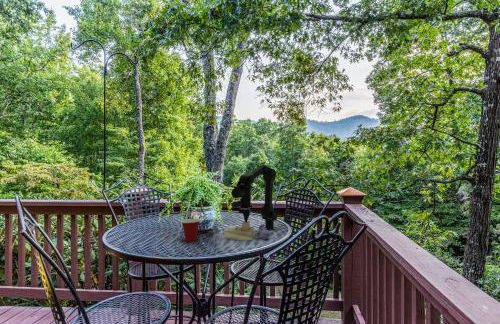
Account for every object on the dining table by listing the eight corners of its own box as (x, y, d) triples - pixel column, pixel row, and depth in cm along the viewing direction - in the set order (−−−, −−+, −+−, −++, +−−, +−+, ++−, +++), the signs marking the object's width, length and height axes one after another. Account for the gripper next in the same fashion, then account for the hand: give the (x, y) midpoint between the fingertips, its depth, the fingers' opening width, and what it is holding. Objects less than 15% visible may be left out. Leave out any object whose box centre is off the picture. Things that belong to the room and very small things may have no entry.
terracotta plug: (243, 229, 188) (243, 221, 188) (249, 230, 188) (249, 221, 188) (242, 231, 184) (242, 223, 184) (248, 231, 184) (248, 223, 184)
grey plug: (229, 234, 190) (229, 226, 189) (236, 234, 189) (236, 226, 189) (228, 236, 186) (228, 227, 185) (235, 236, 185) (235, 227, 185)
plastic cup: (191, 236, 188) (191, 216, 187) (203, 240, 181) (203, 219, 180) (176, 240, 179) (176, 219, 179) (189, 244, 172) (189, 222, 172)
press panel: (227, 233, 194) (227, 226, 194) (253, 234, 192) (253, 226, 192) (224, 239, 182) (224, 231, 182) (251, 240, 180) (251, 232, 180)
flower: (253, 230, 178) (267, 220, 182) (249, 232, 186) (262, 223, 190) (262, 244, 176) (276, 234, 181) (258, 246, 184) (271, 236, 188)
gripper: (235, 193, 196) (235, 218, 196) (229, 198, 177) (229, 225, 178) (252, 194, 194) (252, 218, 195) (249, 198, 176) (249, 226, 176)
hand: (245, 222), depth 186 cm, fingers closed
